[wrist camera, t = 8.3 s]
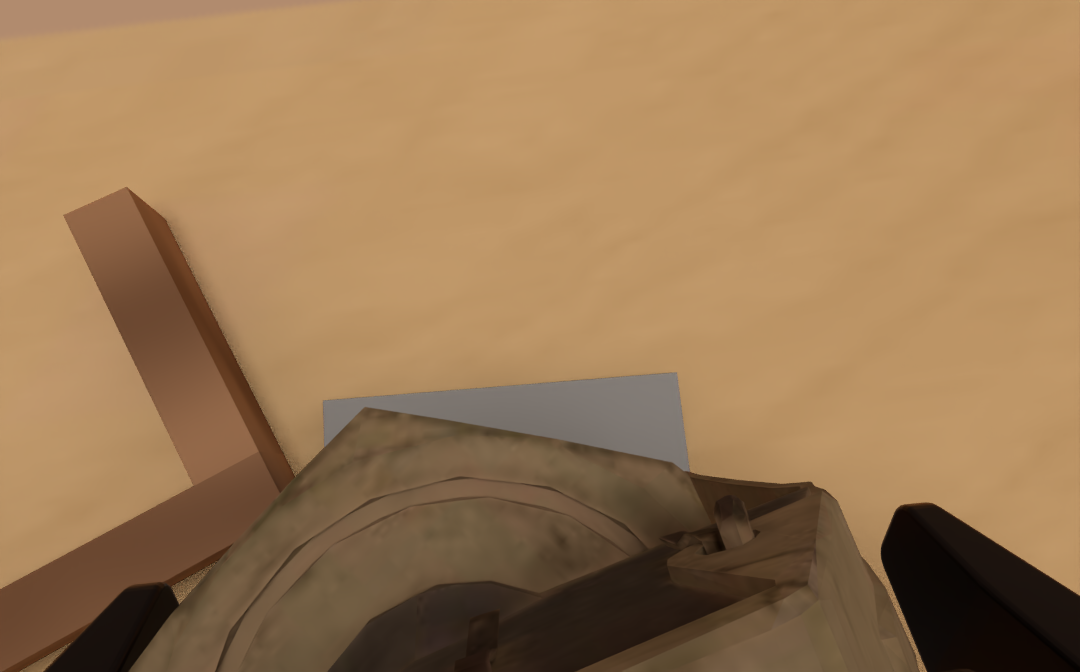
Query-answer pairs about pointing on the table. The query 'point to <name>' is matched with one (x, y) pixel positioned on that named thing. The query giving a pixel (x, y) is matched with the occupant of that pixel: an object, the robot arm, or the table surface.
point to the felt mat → (553, 412)
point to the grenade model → (531, 567)
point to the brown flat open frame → (190, 418)
